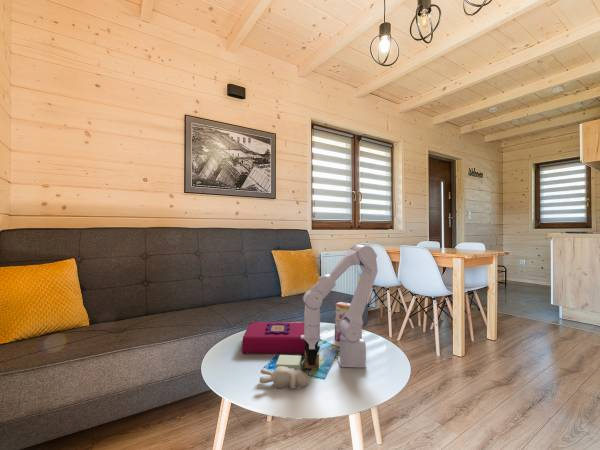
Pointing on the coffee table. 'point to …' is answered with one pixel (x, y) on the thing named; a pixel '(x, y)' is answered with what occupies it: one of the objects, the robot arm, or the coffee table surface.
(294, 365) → the sage block
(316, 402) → the coffee table surface
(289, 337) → the book
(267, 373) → the bunny figurine
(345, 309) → the candy bar box
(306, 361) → the walnut cube
